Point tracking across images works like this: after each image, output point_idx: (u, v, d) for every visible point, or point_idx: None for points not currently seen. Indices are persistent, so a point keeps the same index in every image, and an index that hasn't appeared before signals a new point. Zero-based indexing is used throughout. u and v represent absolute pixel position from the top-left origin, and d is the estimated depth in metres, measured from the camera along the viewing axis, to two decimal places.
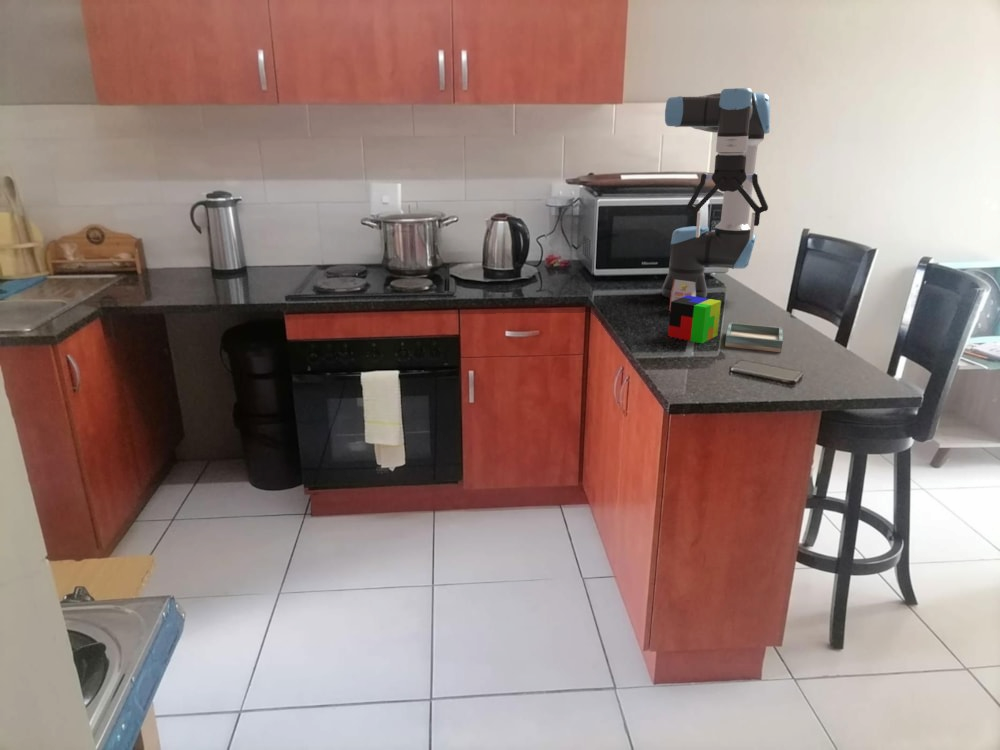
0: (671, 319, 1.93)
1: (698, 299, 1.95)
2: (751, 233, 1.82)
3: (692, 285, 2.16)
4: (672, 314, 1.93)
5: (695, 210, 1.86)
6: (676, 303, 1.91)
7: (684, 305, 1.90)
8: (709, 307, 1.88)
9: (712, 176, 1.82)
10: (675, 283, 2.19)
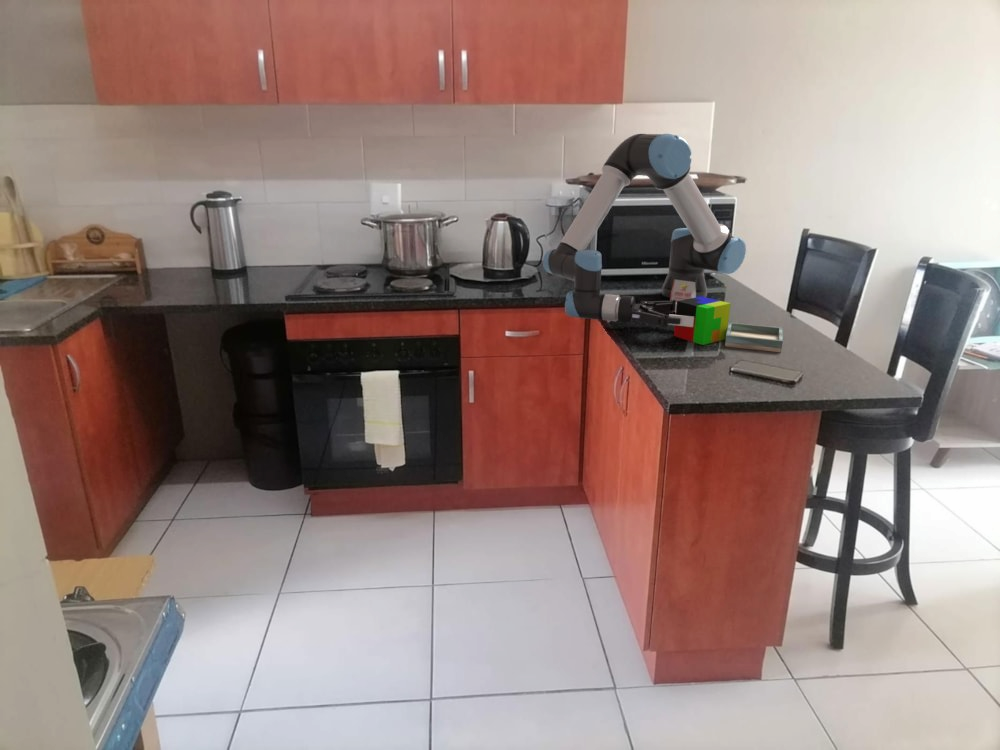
0: None
1: (708, 300, 1.93)
2: None
3: (692, 285, 2.16)
4: (677, 314, 1.93)
5: None
6: (681, 303, 1.91)
7: (688, 305, 1.90)
8: (712, 308, 1.86)
9: None
10: (675, 283, 2.19)
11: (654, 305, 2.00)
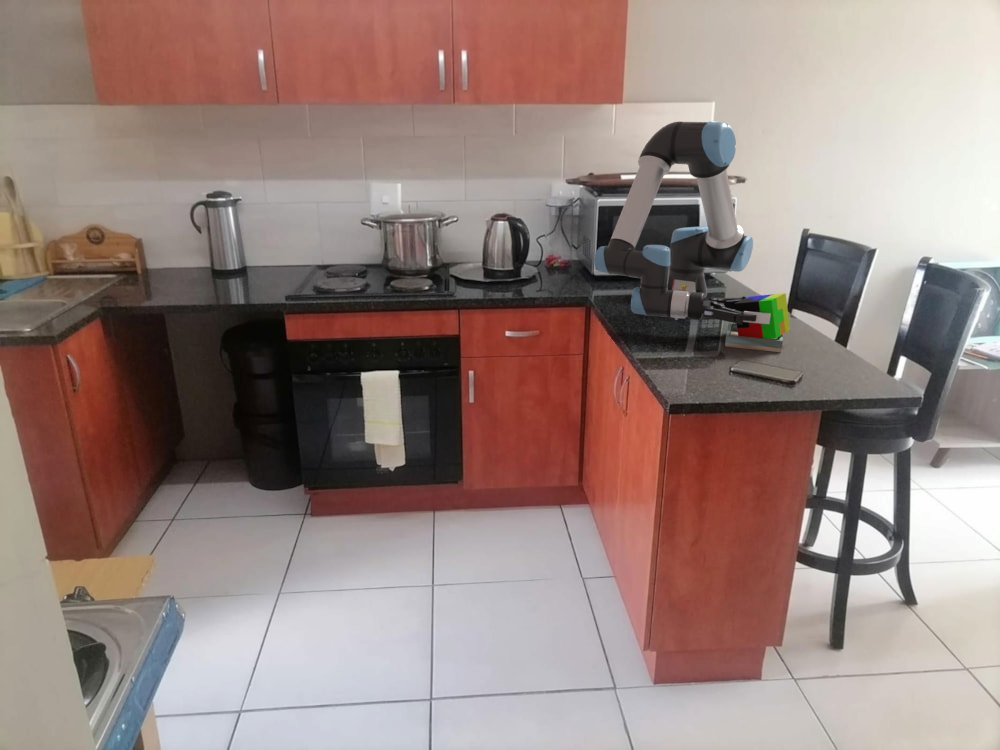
0: None
1: (761, 296, 1.89)
2: None
3: (692, 285, 2.16)
4: None
5: None
6: (739, 303, 1.86)
7: (748, 303, 1.84)
8: (775, 300, 1.82)
9: None
10: (675, 283, 2.19)
11: (724, 302, 1.93)
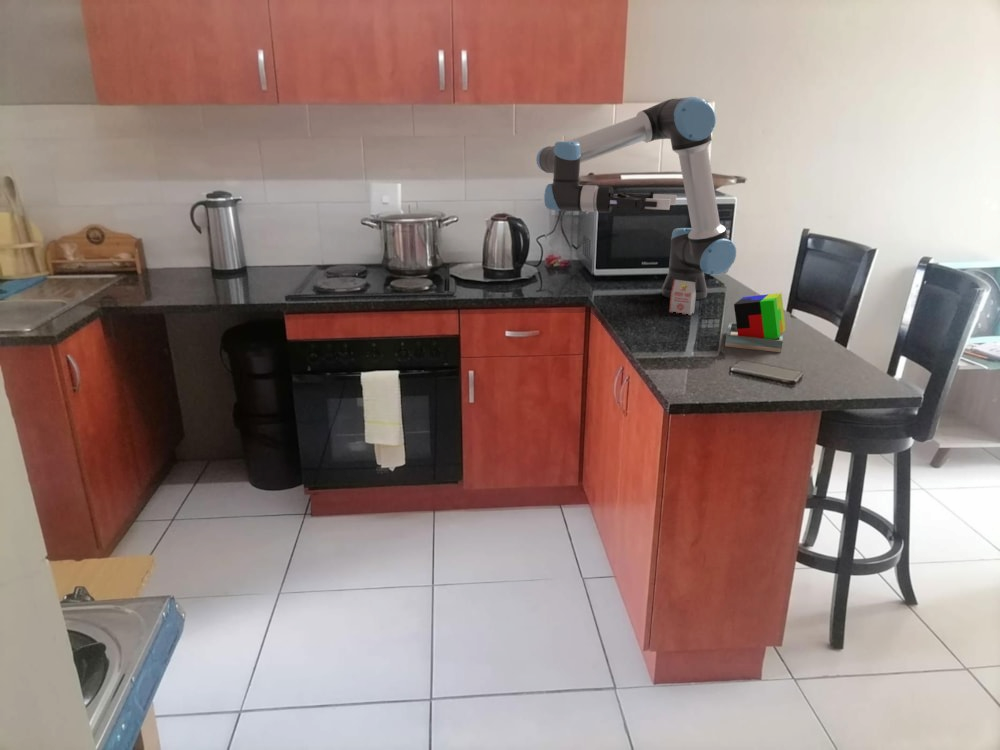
0: (738, 322, 1.87)
1: (758, 297, 1.90)
2: None
3: (692, 285, 2.16)
4: (737, 317, 1.87)
5: None
6: (740, 304, 1.85)
7: (749, 304, 1.84)
8: (775, 300, 1.83)
9: None
10: (675, 283, 2.19)
11: (632, 195, 2.02)
